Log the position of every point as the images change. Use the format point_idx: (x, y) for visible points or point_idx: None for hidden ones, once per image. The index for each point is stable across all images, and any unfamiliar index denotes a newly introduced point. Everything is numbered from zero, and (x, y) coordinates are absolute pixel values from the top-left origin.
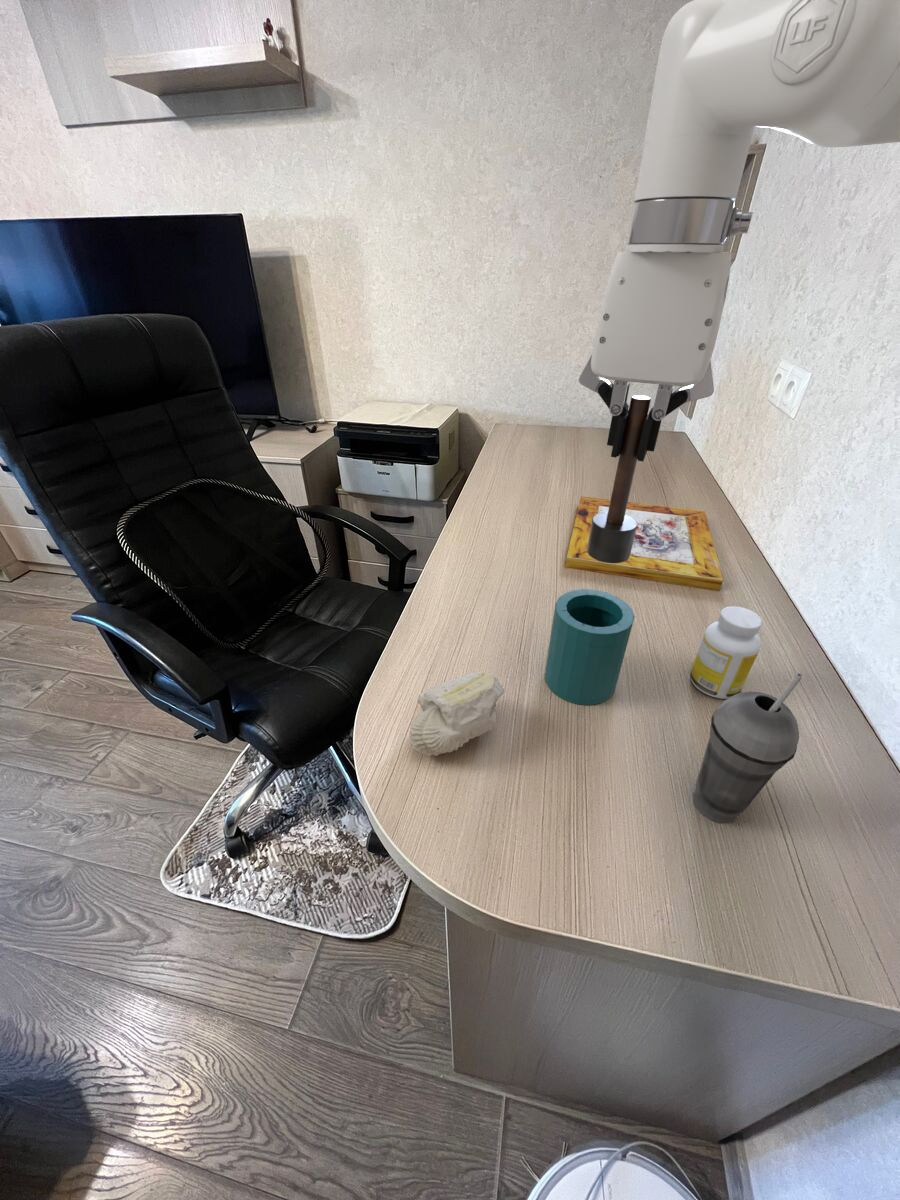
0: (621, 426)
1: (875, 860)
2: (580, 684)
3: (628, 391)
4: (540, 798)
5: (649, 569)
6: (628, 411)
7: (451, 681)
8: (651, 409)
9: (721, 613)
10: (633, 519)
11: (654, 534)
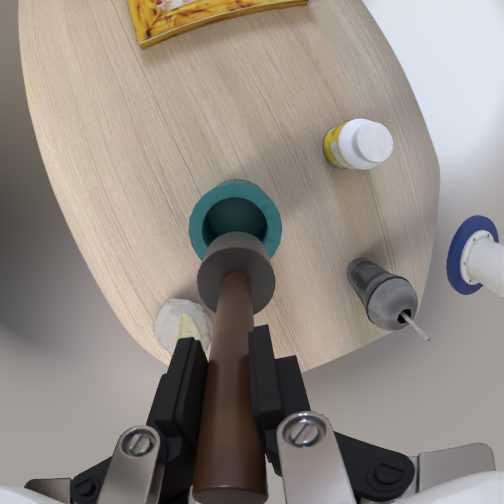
0: None
1: (427, 254)
2: None
3: (158, 493)
4: None
5: (233, 10)
6: (171, 413)
7: (165, 326)
8: (276, 466)
9: (358, 145)
10: (261, 257)
11: None
